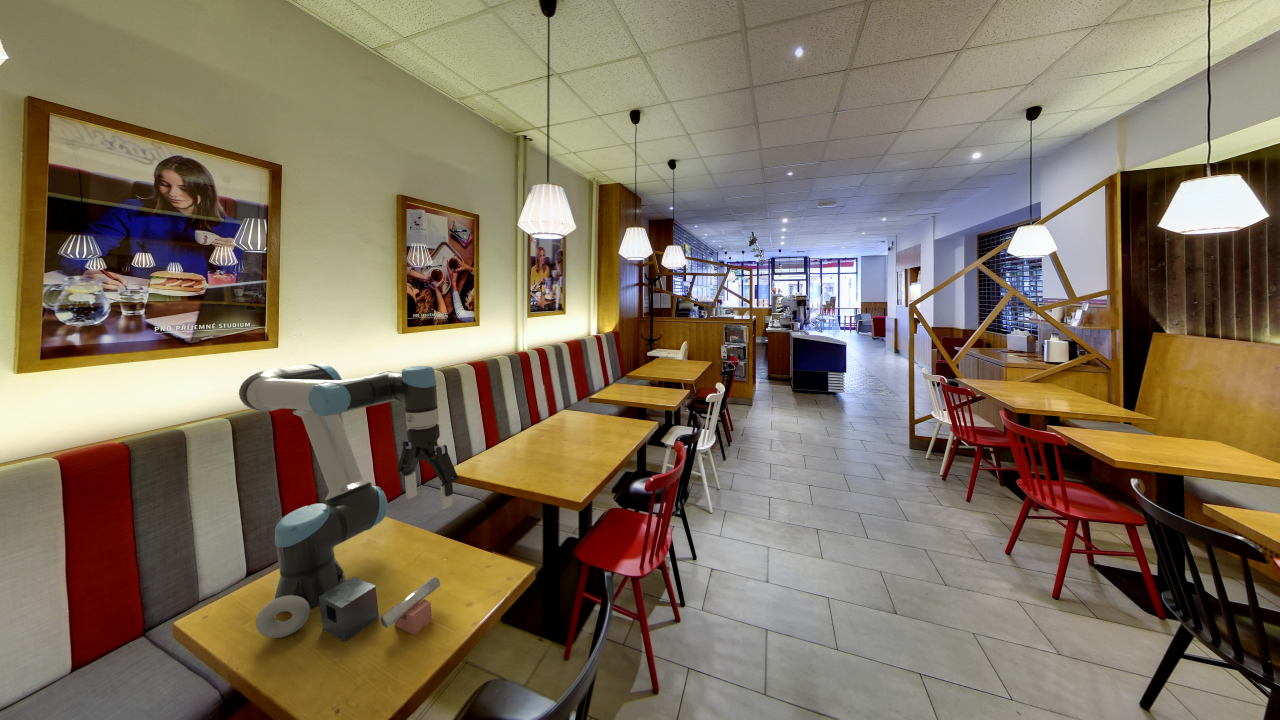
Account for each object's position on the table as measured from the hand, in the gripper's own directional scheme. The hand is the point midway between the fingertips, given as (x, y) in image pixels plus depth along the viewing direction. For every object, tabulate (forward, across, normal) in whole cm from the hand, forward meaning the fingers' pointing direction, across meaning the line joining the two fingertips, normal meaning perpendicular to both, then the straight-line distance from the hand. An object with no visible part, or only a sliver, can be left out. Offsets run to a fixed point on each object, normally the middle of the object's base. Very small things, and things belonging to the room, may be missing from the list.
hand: (429, 501), depth 107 cm
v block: (+27, +4, -10) cm, 29 cm away
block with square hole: (+27, -10, -16) cm, 33 cm away
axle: (+21, +4, -10) cm, 23 cm away
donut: (+27, -21, -25) cm, 42 cm away
